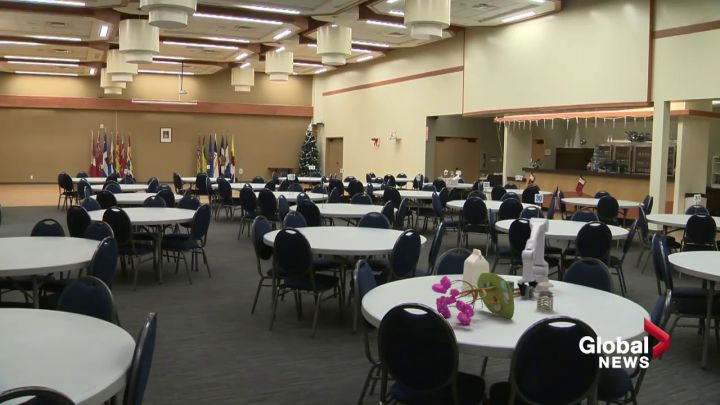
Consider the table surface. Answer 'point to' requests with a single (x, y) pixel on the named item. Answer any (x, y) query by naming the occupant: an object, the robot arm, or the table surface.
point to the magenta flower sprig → (491, 293)
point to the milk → (474, 270)
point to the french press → (544, 298)
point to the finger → (528, 293)
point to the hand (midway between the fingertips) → (527, 295)
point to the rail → (514, 289)
